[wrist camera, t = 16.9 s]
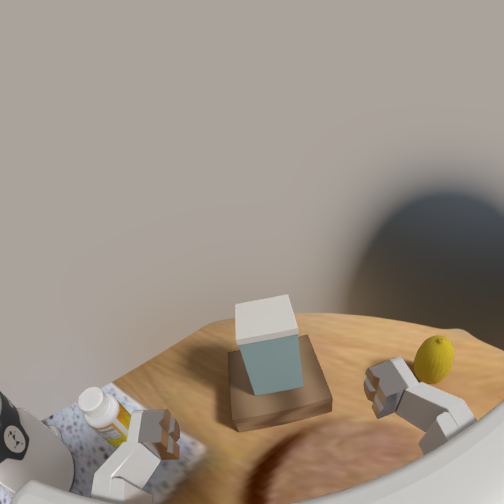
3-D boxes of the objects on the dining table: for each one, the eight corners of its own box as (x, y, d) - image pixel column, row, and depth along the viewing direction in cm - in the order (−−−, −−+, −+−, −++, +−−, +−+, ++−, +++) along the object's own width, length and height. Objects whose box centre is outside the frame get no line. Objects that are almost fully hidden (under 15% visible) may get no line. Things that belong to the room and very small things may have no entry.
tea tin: (254, 396, 30) (235, 339, 26) (251, 361, 36) (235, 304, 32) (304, 387, 30) (298, 327, 26) (295, 353, 36) (287, 294, 32)
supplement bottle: (131, 417, 32) (94, 375, 28) (154, 435, 30) (115, 394, 25) (108, 440, 28) (67, 400, 24) (130, 460, 25) (85, 423, 21)
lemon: (401, 384, 29) (413, 344, 26) (420, 358, 32) (432, 318, 29) (432, 401, 25) (451, 363, 22) (450, 373, 28) (466, 333, 24)
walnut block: (240, 433, 29) (232, 420, 28) (234, 369, 40) (227, 352, 39) (331, 413, 29) (332, 397, 28) (309, 352, 40) (307, 334, 39)
